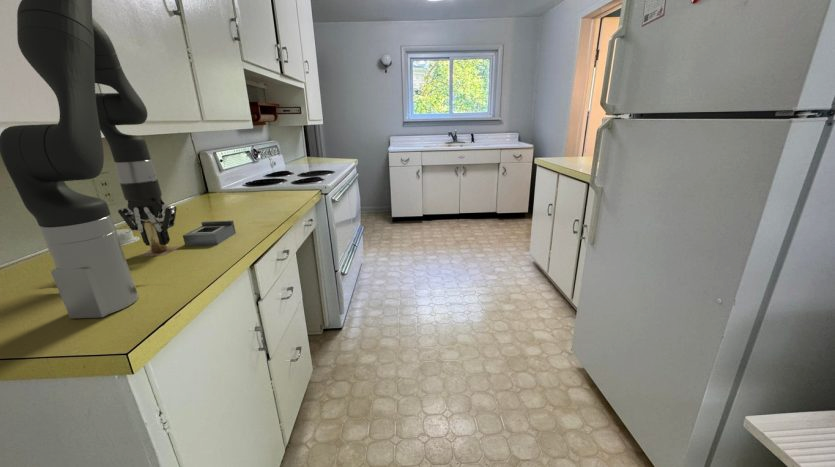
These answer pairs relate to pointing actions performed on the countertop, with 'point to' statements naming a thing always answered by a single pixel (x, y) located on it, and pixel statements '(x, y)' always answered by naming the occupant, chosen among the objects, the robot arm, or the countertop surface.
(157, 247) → the translucent brown rounded cylinder
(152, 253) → the brown square panel
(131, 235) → the mechanical component
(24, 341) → the countertop surface
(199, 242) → the grey square frame
